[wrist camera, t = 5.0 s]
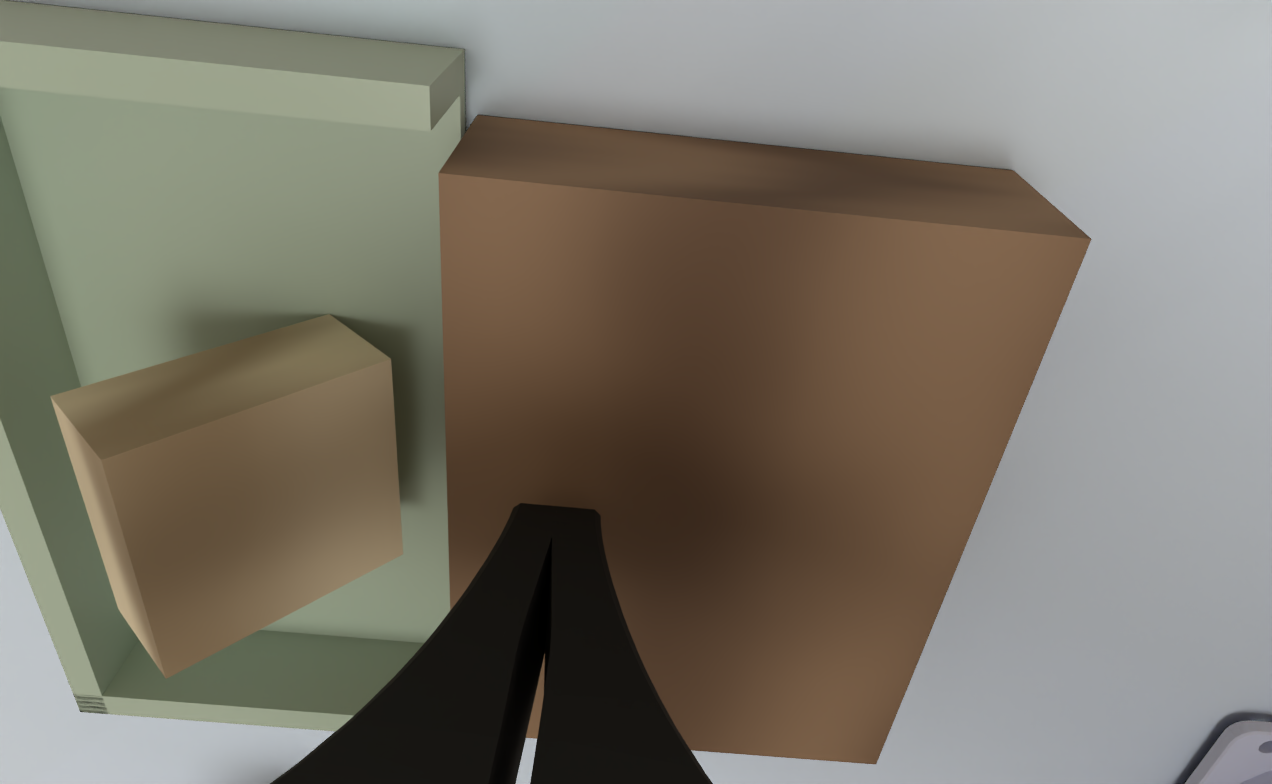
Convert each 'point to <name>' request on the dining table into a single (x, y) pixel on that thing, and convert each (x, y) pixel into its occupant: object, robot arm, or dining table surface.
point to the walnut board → (743, 398)
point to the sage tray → (218, 307)
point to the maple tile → (237, 482)
